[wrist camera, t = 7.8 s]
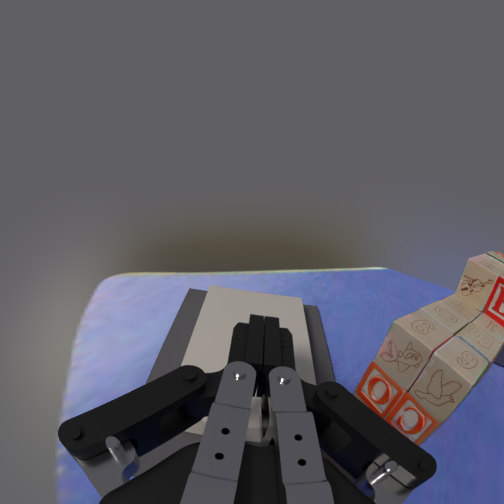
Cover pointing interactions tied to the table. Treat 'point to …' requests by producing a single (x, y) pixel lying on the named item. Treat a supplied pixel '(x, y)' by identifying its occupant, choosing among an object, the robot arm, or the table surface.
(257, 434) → the tile
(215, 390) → the robot arm
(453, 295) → the stack of blocks
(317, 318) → the mat
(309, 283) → the table surface
